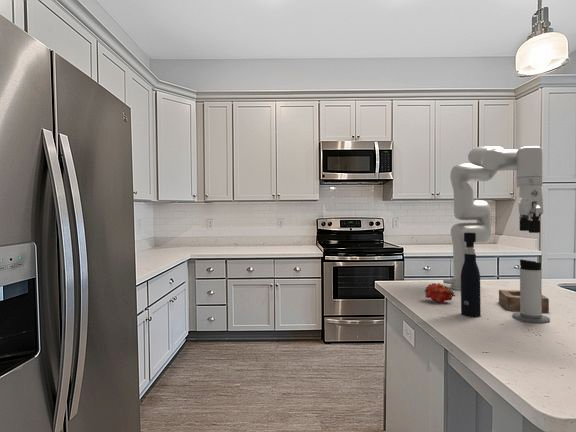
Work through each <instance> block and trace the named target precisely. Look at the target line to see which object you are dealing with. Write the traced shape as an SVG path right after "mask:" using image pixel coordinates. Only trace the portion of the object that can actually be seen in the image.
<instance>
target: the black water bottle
mask: <svg viewBox="0 0 576 432" xmlns="http://www.w3.org/2000/svg"><path fill="white" fill-rule="evenodd" d="M464 242H466V248H473V249H465V251H466V252H465V253H466V254H464V264H463V267H462V271H461V290H460V309H461V310H460V314H461V315H462V316H463V317H467V318H479V317H481V316H482V315H481V314H482V313H481V312H482V311H481V310H482V309H481V274H480V269H479V266H478V264H477V255H476V250H475V248H474V247H475V243H474V242H476V233H464Z"/></svg>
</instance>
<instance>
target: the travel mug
mask: <svg viewBox="0 0 576 432" xmlns="http://www.w3.org/2000/svg"><path fill="white" fill-rule="evenodd" d="M519 291H520V310H521V311H519V312H520V315H521V316H523V317H525V318H531V319H540V318H541V317H542V315H543V314H542V313H543V312H542V295H543V293H542V262H541V261H540V262H537V261H534V260H527V259H526V260H525V259H523V258H522V259H519Z"/></svg>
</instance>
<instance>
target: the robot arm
mask: <svg viewBox="0 0 576 432" xmlns="http://www.w3.org/2000/svg"><path fill="white" fill-rule="evenodd" d="M467 155H468V156H467V160H468V161H469V162H467V163H466V162H465V163H464V162H463V163H459V164H455V165H454V166H453V167H452V168H451V170H450V174H449V175H450V176H449V177H450V182H451V183H450V184H451V187H452V189H453V190H452V191H453V215H454V217H455V219H457V220H460V221H476V222H461V223H460V222H459V223H455V224H453V225H452V226H451V228H450V237H451V242H452V255H453V260H452V261H453V265H452V266H453V268H452V269H453V277H451V278H450V279H442V283H443V284H447V285H449V286H450V288H451V289H452V290H456V291H461V271H462V267H463V264H464V254H466V253H465V252H466V251H465V249H474V248H466V242H464V233H476V242H474V244H475V243H476V244H477V243H486V242H488V241H490V238H491V235H492V212H491V211H492V210H491V206H490V204H489V202H488V201H486V200H483V199H474V190H473V187H472V186H471V184H469V182H474V183H475V182H488V181H490V180H492V179H493V178H494V177H495V175H496V174H497V173H498V172H499V171H503V172H504V171H516V188H518V189H519V190H518V212H519V231H521V232H522V231H524V232H528V233H530V234H532V233H533V234H538V233H539V234H540V233H541V216H542V215H543V214H544V202H543V201H544V200H543V189H542V187H543V149H542V147H540V146H538V145H535V146H534V145H532V146H531V145H530V146H523V147H519V148H518V149H504V148H503V147H501V146H495V145H494V146H476V147H474V148H472V149H471V150H470V151H469V152H468V154H467Z"/></svg>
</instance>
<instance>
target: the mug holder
mask: <svg viewBox="0 0 576 432" xmlns="http://www.w3.org/2000/svg"><path fill="white" fill-rule="evenodd" d="M549 300H550V299H549V298H548V297H547V296H546V295H544V294H542V313H550V312H549V311H550V306H549V305H550V303H549V302H550V301H549ZM498 302H499V303H500V304H501V305H502V307H504V308H505V310H507V311H517V312H520V311H521V310H520V290H514V289H513V290H511V289H498Z"/></svg>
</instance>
